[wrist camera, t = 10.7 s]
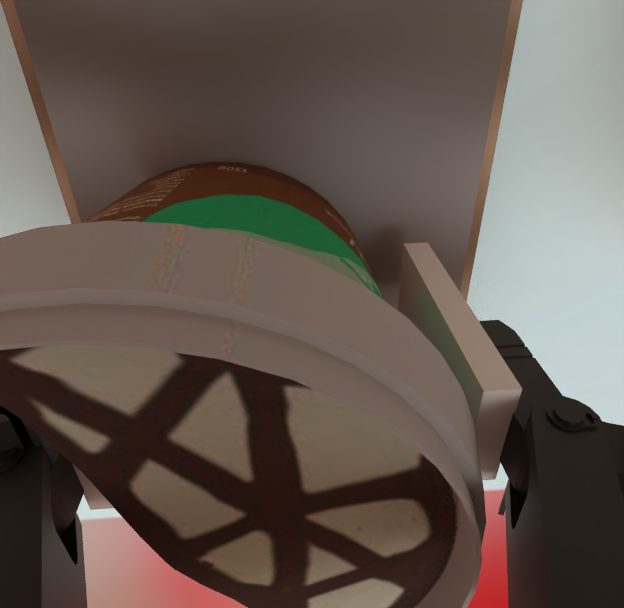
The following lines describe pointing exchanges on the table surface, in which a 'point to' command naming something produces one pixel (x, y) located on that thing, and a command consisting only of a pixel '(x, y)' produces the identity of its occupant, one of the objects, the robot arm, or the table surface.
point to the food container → (246, 393)
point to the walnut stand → (282, 105)
